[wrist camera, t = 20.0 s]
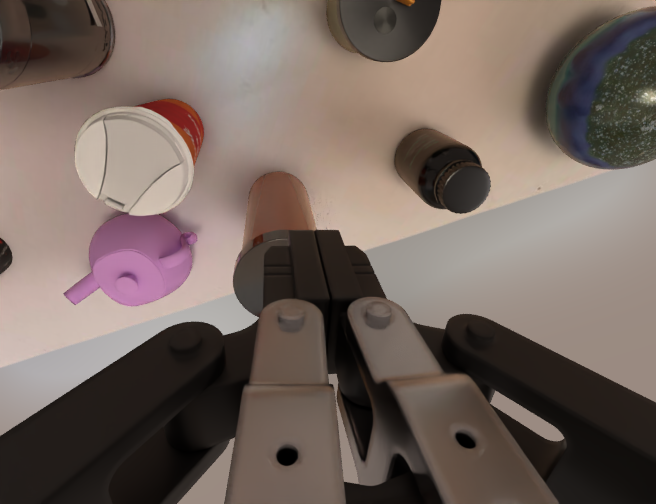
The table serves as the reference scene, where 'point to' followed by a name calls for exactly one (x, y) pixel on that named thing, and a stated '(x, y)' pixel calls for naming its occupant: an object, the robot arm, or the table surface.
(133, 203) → the coffee cup
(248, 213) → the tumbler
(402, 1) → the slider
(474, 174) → the supplement bottle
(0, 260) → the deodorant
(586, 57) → the vase
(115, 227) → the teapot
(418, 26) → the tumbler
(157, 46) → the table surface
